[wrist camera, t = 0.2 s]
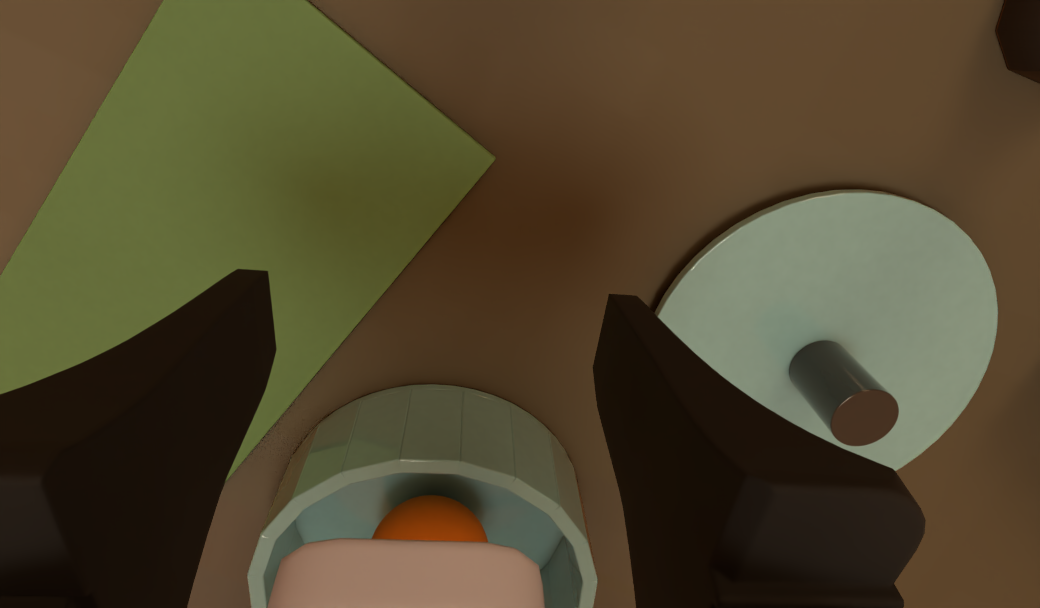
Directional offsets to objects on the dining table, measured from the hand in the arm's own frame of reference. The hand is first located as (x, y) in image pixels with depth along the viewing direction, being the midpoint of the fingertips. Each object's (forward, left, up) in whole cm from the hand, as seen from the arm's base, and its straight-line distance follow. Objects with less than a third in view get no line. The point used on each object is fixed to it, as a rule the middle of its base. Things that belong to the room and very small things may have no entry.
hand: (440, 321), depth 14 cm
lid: (+4, -15, -10) cm, 19 cm away
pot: (-12, -8, -11) cm, 18 cm away
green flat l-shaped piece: (-9, +5, -11) cm, 15 cm away
